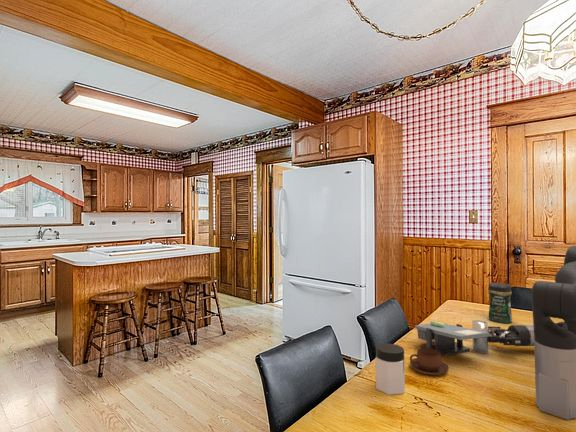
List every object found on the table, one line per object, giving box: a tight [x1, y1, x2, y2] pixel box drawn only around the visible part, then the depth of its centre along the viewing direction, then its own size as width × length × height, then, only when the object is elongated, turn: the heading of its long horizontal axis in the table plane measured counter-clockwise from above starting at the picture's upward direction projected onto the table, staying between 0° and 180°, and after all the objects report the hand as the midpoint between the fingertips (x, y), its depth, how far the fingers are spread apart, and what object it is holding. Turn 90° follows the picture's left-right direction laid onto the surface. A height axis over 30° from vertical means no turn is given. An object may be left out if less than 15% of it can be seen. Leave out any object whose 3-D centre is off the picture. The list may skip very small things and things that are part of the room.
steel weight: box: [471, 319, 490, 355], centre depth 129 cm, size 5×5×11 cm
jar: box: [375, 342, 406, 396], centre depth 102 cm, size 9×8×12 cm
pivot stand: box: [419, 323, 471, 357], centre depth 131 cm, size 8×16×9 cm, turn 106°
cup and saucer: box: [409, 348, 449, 376], centre depth 114 cm, size 12×12×6 cm
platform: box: [414, 320, 490, 342], centre depth 128 cm, size 25×12×7 cm, turn 16°
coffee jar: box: [487, 282, 513, 324], centre depth 166 cm, size 10×8×19 cm
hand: (481, 335), depth 129 cm, fingers open, 8 cm apart
